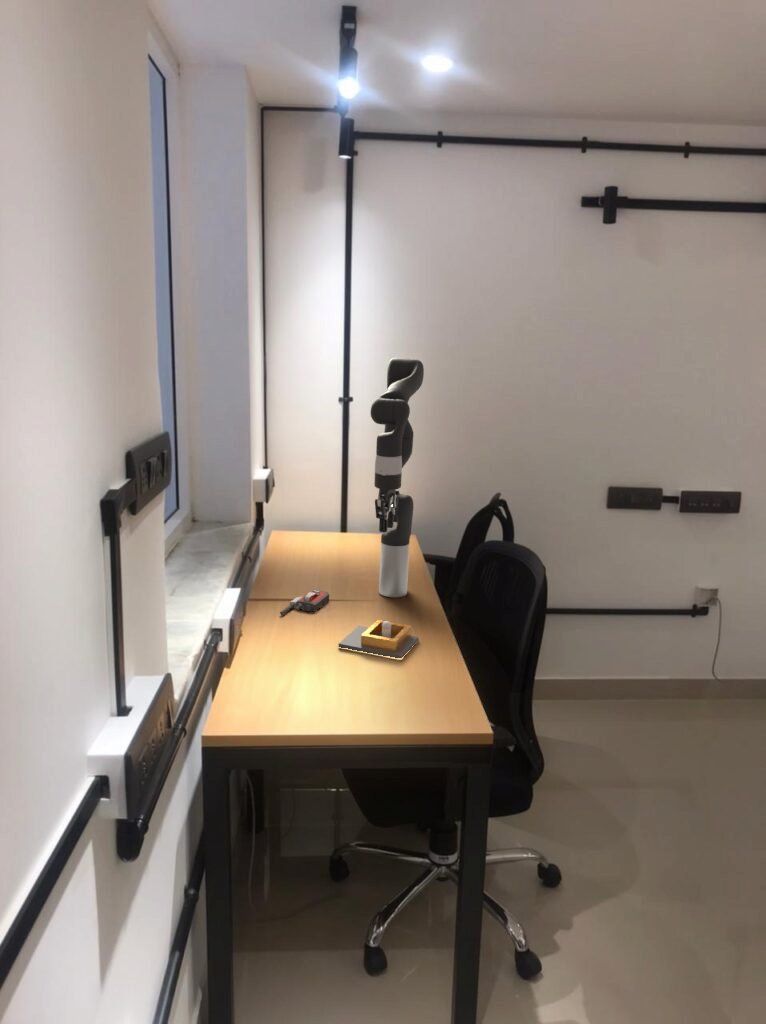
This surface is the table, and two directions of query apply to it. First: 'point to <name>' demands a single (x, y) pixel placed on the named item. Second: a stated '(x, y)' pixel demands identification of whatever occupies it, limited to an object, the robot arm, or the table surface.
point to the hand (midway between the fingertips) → (386, 529)
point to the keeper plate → (355, 644)
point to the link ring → (389, 644)
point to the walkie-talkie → (309, 601)
